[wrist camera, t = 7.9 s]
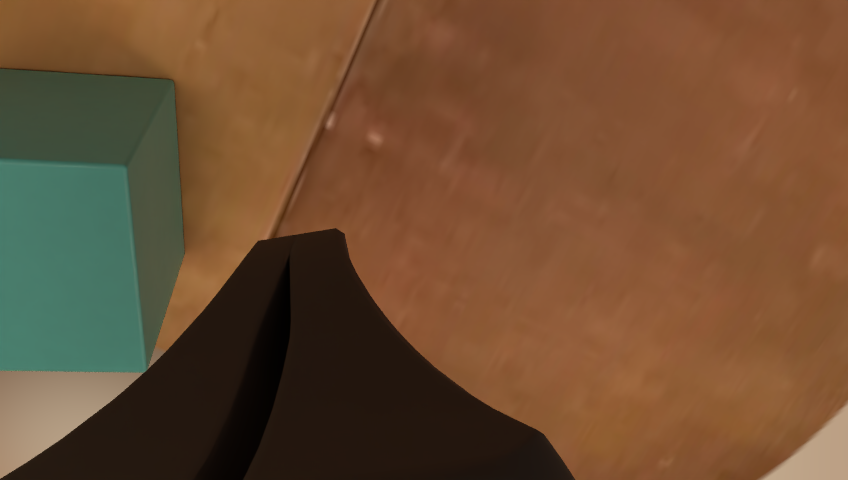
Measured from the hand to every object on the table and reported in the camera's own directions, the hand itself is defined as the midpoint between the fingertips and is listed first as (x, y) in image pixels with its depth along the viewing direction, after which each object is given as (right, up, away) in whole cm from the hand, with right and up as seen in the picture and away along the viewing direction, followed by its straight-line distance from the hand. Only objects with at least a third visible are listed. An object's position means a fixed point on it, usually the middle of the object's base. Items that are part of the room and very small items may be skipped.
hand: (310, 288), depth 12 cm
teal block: (-7, +3, +7) cm, 11 cm away
